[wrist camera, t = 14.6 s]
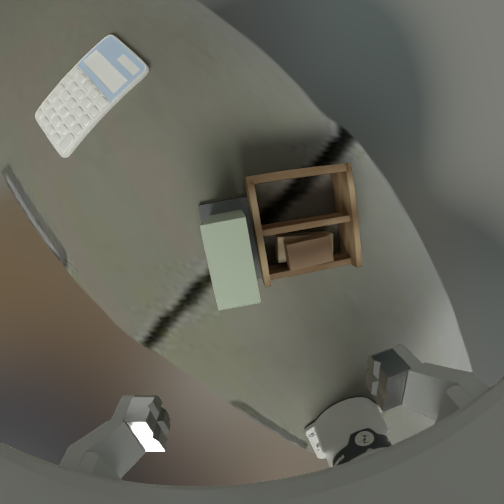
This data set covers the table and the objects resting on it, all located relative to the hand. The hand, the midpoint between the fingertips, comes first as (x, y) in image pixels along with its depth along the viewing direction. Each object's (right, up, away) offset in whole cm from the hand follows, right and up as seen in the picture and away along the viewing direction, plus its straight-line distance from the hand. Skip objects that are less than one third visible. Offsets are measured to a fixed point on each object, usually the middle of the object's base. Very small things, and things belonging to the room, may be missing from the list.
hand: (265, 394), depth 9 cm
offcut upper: (+7, +6, +28) cm, 30 cm away
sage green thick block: (-3, +7, +30) cm, 31 cm away
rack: (+6, +10, +30) cm, 32 cm away
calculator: (-28, +32, +24) cm, 48 cm away
